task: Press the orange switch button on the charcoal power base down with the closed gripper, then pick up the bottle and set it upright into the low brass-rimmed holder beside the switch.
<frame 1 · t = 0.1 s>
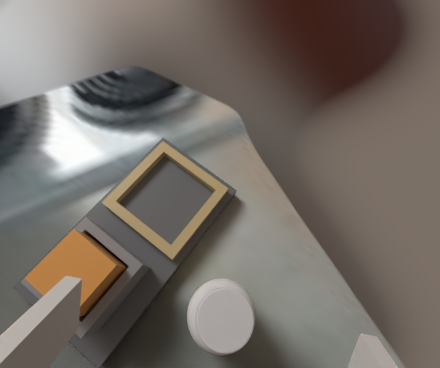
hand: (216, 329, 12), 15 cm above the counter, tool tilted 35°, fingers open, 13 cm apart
power base: (139, 236, 28), on the counter
switch button: (81, 272, 21), point 6 cm above the counter, slide at 0.0 cm
supplement bottle: (215, 308, 27), on the counter
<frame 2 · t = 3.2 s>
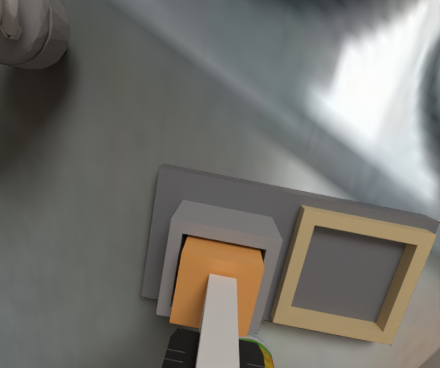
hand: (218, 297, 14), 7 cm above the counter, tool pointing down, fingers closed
power base: (278, 252, 22), on the counter
light bulb: (59, 40, 19), on the counter
switch button: (216, 278, 16), point 5 cm above the counter, slide at 0.7 cm, touching gripper
supplement bottle: (242, 354, 24), on the counter
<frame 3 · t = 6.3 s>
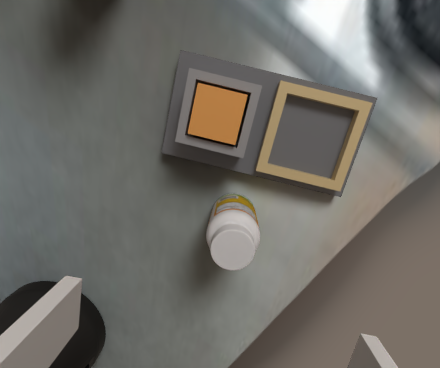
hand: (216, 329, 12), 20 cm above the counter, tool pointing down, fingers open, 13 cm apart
power base: (262, 126, 29), on the counter
switch button: (218, 115, 25), point 4 cm above the counter, slide at 1.8 cm
supplement bottle: (233, 212, 32), on the counter
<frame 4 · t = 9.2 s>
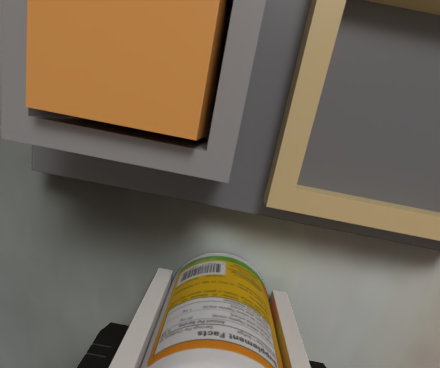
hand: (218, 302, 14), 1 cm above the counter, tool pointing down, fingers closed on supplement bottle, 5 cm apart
power base: (277, 94, 12), on the counter
switch button: (143, 49, 8), point 4 cm above the counter, slide at 1.8 cm
supplement bottle: (218, 290, 15), on the counter, touching gripper
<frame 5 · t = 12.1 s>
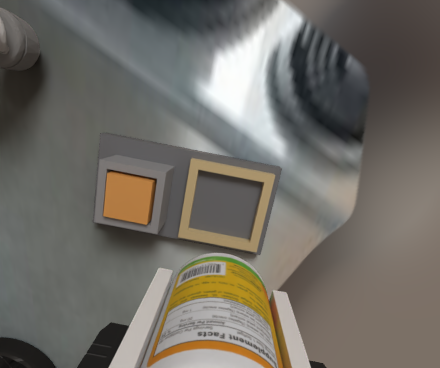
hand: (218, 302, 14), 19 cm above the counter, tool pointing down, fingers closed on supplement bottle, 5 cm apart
power base: (185, 193, 32), on the counter
light bulb: (36, 51, 29), on the counter
switch button: (133, 194, 28), point 4 cm above the counter, slide at 1.8 cm
supplement bottle: (218, 290, 15), point 18 cm above the counter, touching gripper
when the fingers open (3 cm above the counter, at t = 15.2 s): supplement bottle stays where it is, resting on power base.
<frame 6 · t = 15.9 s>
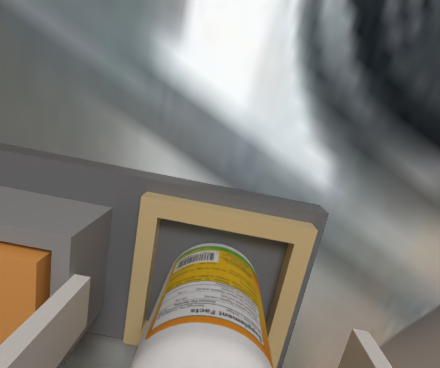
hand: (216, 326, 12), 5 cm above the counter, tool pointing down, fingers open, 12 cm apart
power base: (141, 252, 17), on the counter
switch button: (15, 275, 13), point 4 cm above the counter, slide at 1.8 cm
supplement bottle: (213, 279, 16), point 1 cm above the counter, touching power base
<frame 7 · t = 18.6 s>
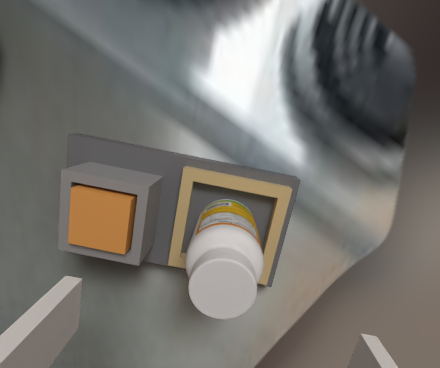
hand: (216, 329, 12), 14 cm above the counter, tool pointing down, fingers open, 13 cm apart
power base: (178, 209, 26), on the counter
switch button: (109, 214, 22), point 4 cm above the counter, slide at 1.8 cm
supplement bottle: (226, 224, 24), point 1 cm above the counter, touching power base
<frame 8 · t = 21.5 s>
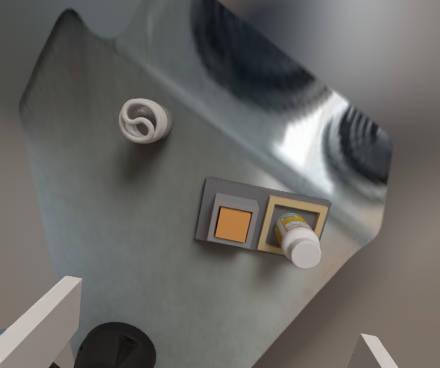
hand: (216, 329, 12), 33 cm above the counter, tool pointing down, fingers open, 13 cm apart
power base: (260, 218, 45), on the counter
light bulb: (162, 122, 42), on the counter
switch button: (232, 221, 41), point 4 cm above the counter, slide at 1.8 cm
supplement bottle: (289, 226, 44), point 1 cm above the counter, touching power base
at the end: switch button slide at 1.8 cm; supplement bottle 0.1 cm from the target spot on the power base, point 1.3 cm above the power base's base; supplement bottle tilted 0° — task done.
